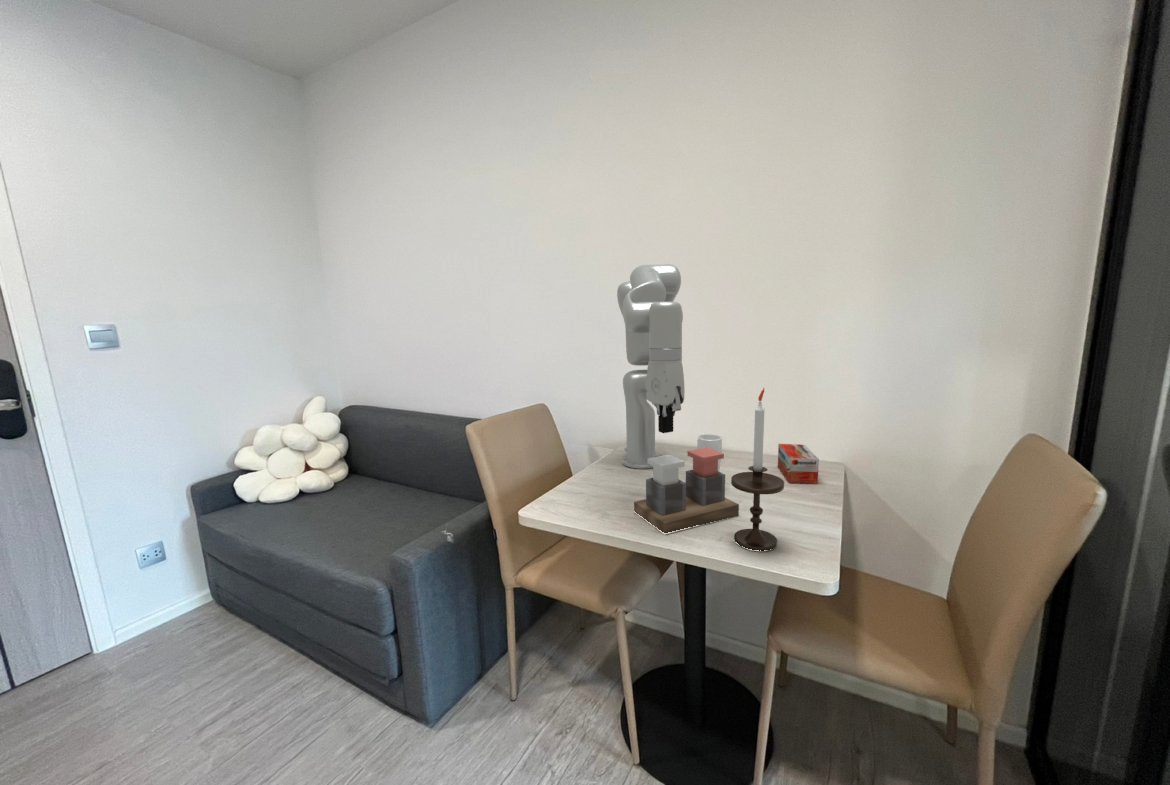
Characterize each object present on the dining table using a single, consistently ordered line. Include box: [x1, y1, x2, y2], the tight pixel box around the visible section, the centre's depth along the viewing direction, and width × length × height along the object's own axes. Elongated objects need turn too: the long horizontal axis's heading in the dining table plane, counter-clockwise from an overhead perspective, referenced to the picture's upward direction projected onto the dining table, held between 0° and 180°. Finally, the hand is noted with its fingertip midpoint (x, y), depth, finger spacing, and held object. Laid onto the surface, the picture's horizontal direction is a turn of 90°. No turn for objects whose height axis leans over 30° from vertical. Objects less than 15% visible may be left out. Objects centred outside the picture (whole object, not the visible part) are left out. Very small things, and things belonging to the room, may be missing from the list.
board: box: [633, 469, 740, 533], centre depth 122 cm, size 14×22×10 cm, turn 115°
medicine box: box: [777, 443, 820, 485], centre depth 147 cm, size 15×8×8 cm, turn 172°
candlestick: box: [730, 387, 785, 551], centre depth 105 cm, size 11×11×35 cm
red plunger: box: [686, 447, 725, 477], centre depth 124 cm, size 6×6×8 cm
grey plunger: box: [647, 454, 685, 486], centre depth 119 cm, size 6×6×8 cm
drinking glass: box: [696, 433, 723, 472], centre depth 140 cm, size 7×7×15 cm
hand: (665, 431), depth 116 cm, fingers closed
